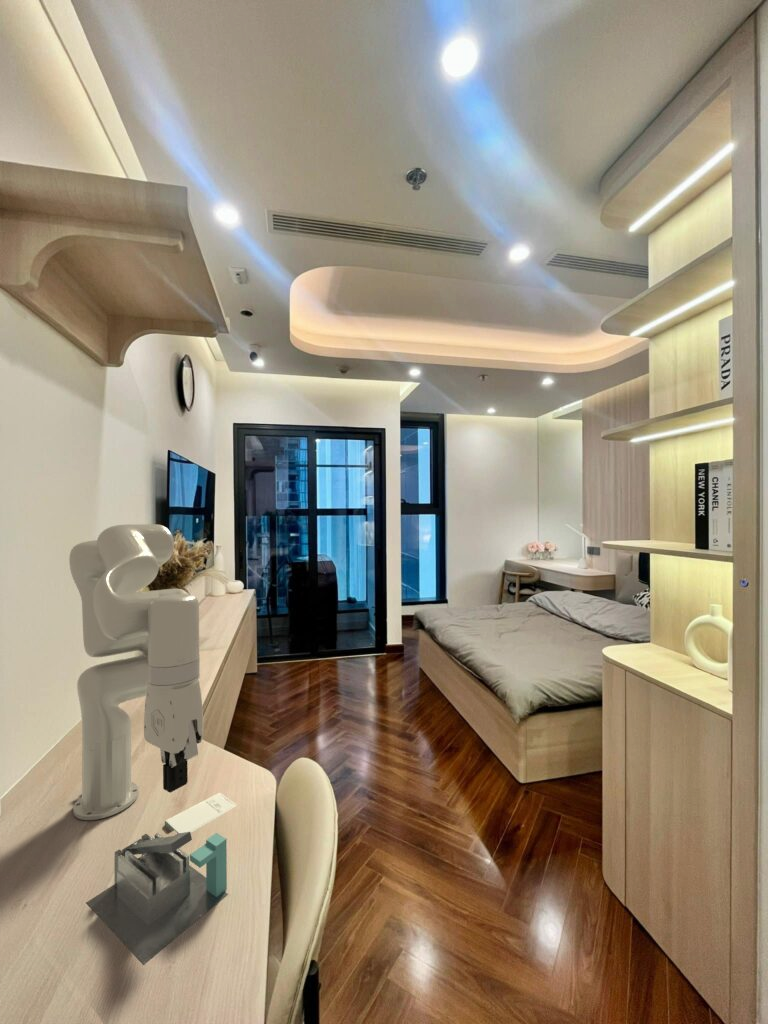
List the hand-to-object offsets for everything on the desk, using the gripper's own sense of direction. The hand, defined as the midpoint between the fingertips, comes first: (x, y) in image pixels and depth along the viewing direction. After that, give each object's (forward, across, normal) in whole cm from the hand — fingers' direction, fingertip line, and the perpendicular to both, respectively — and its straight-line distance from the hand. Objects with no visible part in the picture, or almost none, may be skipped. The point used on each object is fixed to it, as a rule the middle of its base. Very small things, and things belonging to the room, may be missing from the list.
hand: (175, 786), depth 70 cm
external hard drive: (+22, -19, +17) cm, 33 cm away
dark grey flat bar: (+12, -6, 0) cm, 14 cm away
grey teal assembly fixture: (+21, -6, 0) cm, 22 cm away
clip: (+20, +1, +5) cm, 21 cm away
